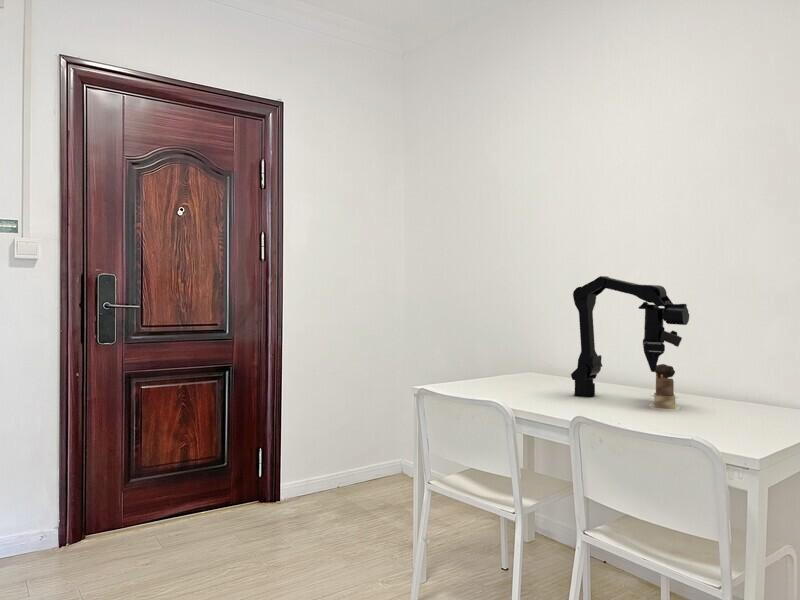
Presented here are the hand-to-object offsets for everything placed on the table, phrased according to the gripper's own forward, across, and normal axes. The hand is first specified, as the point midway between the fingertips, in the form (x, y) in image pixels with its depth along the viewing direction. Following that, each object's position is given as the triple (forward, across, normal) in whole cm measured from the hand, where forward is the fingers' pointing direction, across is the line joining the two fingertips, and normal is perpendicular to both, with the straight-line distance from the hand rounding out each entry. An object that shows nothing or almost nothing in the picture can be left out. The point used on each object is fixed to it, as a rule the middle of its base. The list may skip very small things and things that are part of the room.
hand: (652, 369), depth 202 cm
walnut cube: (+7, -4, -4) cm, 9 cm away
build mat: (+12, -3, +1) cm, 12 cm away
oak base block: (+11, -4, -4) cm, 13 cm away
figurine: (+12, +17, -5) cm, 22 cm away
